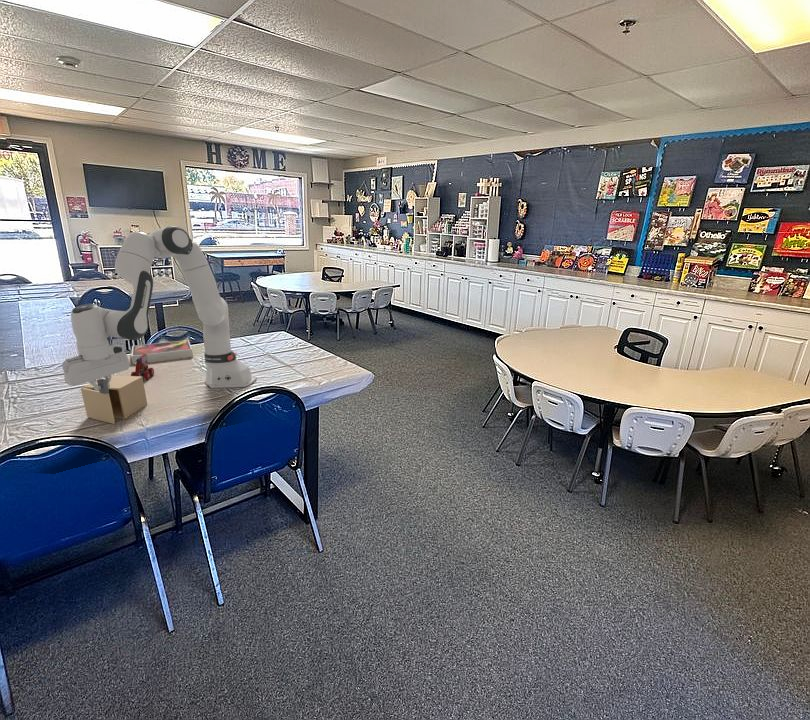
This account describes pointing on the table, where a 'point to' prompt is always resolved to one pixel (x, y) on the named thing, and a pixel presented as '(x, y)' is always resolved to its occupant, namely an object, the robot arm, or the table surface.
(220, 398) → the table surface
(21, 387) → the table surface
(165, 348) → the product packaging
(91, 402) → the carton flap
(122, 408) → the carton
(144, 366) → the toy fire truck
